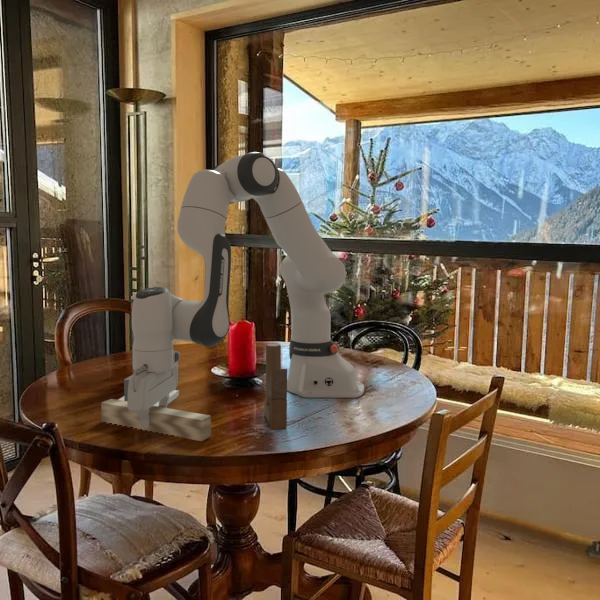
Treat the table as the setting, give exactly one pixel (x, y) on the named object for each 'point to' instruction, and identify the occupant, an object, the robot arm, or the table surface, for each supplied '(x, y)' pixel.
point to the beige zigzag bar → (159, 420)
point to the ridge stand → (172, 396)
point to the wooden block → (275, 388)
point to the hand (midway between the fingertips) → (154, 419)
